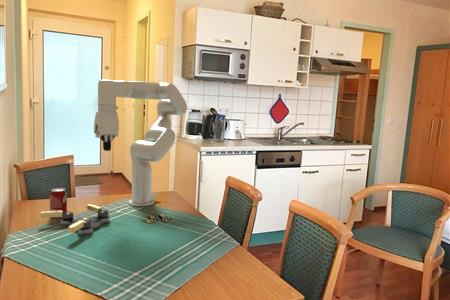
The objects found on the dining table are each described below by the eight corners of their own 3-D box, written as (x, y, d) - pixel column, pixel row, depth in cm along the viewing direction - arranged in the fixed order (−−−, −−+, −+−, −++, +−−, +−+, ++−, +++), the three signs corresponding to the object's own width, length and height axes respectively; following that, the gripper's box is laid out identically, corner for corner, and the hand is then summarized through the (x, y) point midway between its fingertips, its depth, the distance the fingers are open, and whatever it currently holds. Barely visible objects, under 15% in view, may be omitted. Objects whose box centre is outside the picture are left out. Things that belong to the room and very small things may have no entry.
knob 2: (110, 216, 162) (110, 208, 162) (102, 219, 159) (101, 210, 158) (91, 210, 169) (91, 202, 169) (83, 212, 166) (83, 204, 165)
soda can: (60, 219, 163) (60, 192, 161) (46, 217, 164) (46, 190, 162) (70, 214, 169) (69, 188, 168) (56, 213, 171) (56, 187, 169)
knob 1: (83, 225, 151) (83, 216, 150) (93, 226, 150) (93, 217, 149) (63, 236, 138) (63, 227, 138) (74, 237, 137) (74, 228, 137)
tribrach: (96, 215, 170) (96, 207, 170) (121, 226, 158) (121, 218, 157) (58, 223, 157) (58, 215, 157) (82, 236, 145) (82, 227, 144)
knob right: (73, 217, 160) (73, 208, 159) (73, 220, 156) (73, 211, 155) (40, 219, 156) (39, 210, 155) (38, 222, 152) (38, 213, 151)
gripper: (117, 108, 174) (116, 148, 176) (86, 108, 163) (87, 150, 165) (126, 109, 169) (126, 150, 172) (96, 109, 158) (96, 153, 160)
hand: (107, 150), depth 168 cm, fingers closed
